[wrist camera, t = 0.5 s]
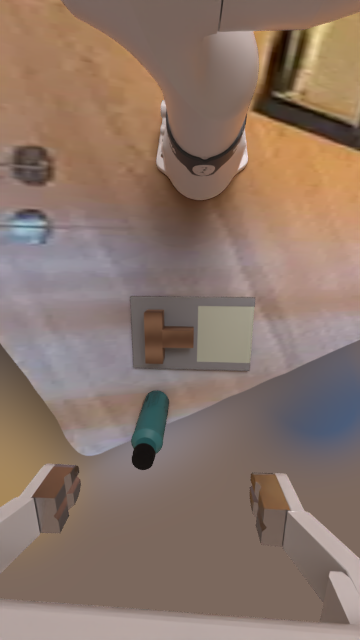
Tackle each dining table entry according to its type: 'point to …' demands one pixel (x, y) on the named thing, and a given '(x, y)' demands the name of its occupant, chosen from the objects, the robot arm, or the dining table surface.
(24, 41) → the dining table surface
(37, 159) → the dining table surface
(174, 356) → the board
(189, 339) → the t block
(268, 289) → the dining table surface
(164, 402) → the beverage bottle
